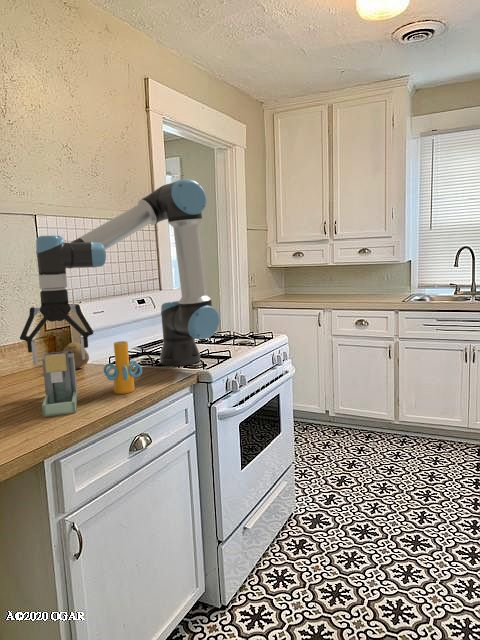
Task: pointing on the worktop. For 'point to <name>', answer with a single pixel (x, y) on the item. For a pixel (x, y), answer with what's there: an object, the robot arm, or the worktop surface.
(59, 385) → the housing
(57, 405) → the tray
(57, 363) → the block
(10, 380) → the worktop surface
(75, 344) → the natural sponge
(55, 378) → the shaft
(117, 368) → the cylinder
